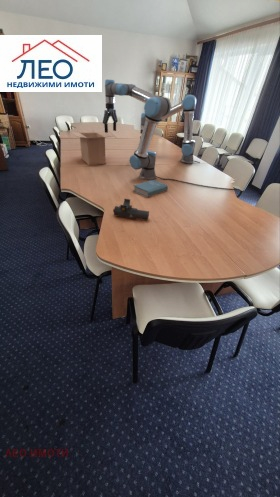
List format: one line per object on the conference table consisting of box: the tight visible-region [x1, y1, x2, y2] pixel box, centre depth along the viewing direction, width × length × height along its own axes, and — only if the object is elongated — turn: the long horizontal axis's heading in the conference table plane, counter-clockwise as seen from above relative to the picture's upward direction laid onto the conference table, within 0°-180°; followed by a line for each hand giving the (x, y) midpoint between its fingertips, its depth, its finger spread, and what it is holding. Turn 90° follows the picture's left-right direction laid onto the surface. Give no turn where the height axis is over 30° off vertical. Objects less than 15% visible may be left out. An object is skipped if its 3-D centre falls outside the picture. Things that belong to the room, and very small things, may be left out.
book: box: [133, 179, 169, 198], centre depth 177 cm, size 23×16×5 cm
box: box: [70, 129, 114, 166], centre depth 229 cm, size 44×36×27 cm
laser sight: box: [112, 198, 150, 221], centre depth 138 cm, size 10×22×10 cm, turn 78°
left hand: (110, 131), depth 195 cm, fingers open, 13 cm apart
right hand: (142, 151), depth 254 cm, fingers closed on brick, 7 cm apart
